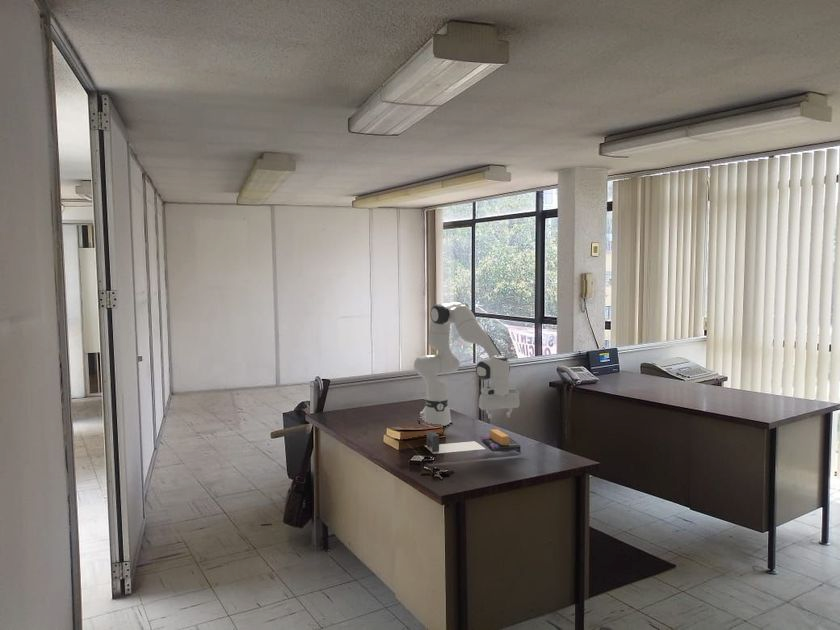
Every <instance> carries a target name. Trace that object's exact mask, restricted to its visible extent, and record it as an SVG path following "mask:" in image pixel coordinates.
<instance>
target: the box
mask: <svg viewBox="0 0 840 630" xmlns="http://www.w3.org/2000/svg"><path fill="white" fill-rule="evenodd" d="M480 441H481V442H483V444H484V445H486V447H488V448H489V449H490V450H491V451H493V452H495V451H496V452H497V451H498V452H499V451H510V450H514V451H516V452H521V445H520V444H518V443H517V442H516V441H515V440H514V439H513V438H512V437H510V439H509V445H500V444H499V443H497V442H496V441H494V440H492V439H491V438H490V436H482V437H480Z"/></svg>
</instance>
